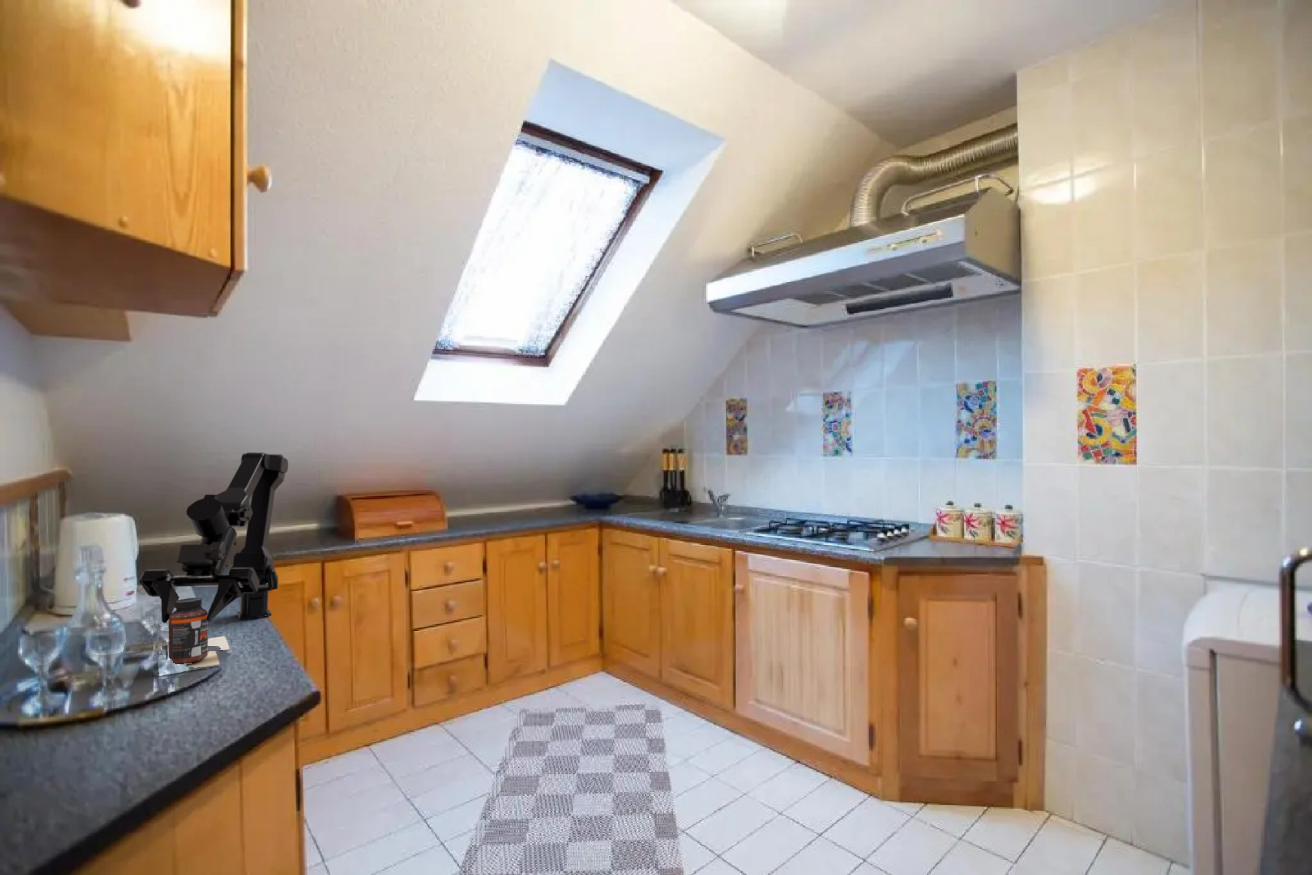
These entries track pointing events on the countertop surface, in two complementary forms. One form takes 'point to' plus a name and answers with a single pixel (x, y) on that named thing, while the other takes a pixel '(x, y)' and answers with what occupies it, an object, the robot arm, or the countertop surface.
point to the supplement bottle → (188, 631)
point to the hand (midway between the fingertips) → (186, 621)
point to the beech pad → (206, 661)
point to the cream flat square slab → (219, 642)
